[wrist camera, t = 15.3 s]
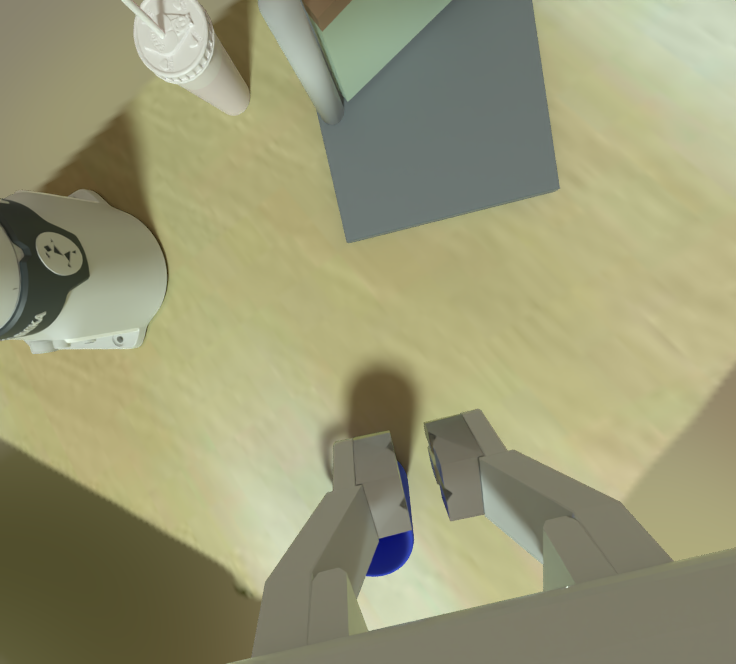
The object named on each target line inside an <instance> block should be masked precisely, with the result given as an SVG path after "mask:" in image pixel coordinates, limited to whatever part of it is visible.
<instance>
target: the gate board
mask: <svg viewBox="0 0 736 664" xmlns="http://www.w3.org/2000/svg"><path fill="white" fill-rule="evenodd" d="M258 6H259V10H260V12H261V14H262V16H263V18H264V19H265V21H266V23H267V25H268V26H269V28H270V30H271V31H272V33H273V35H274V37H275V38H276V40H277V42H278V44H279V45H280V47H281V49H282V50H283V52H284V54H285V56H286V57H287V59H288V61H289V63H290V64H291V66H292V68H293V70H294V71H295V73H296V75H297V76H298V78H299V80H300V82H301V83H302V85H303V87H304V89H305V90H306V92H307V94H308V95H309V97H310V99H311V101H312V102H313V104H314V106H315V108H316V110H317V114H318V119H319V123H320V128H321V132H322V136H323V141H324V145H325V149H326V154H327V158H328V163H329V167H330V171H331V176H332V180H333V184H334V189H335V193H336V198H337V202H338V206H339V211H340V215H341V219H342V224H343V228H344V233H345V237H346V241H347V243H352V242H356V241H360V240H364V239H368V238H372V237H376V236H380V235H384V234H388V233H392V232H396V231H400V230H404V229H408V228H412V227H416V226H420V225H424V224H427V223H431V222H435V221H439V220H443V219H447V218H451V217H455V216H459V215H463V214H467V213H471V212H475V211H479V210H483V209H487V208H491V207H495V206H499V205H503V204H507V203H511V202H515V201H519V200H523V199H527V198H531V197H535V196H539V195H543V194H547V193H551V192H555V191H556V190H558V189H560V187H559V180H558V173H557V166H556V160H555V153H554V146H553V139H552V132H551V126H550V119H549V112H548V105H547V99H546V92H545V85H544V78H543V72H542V65H541V58H540V51H539V44H538V38H537V31H536V24H535V17H534V11H533V4H532V0H452V1H451V2H450V3H449V4H448V5H447V6H446V7H445V8H444V9H443V10H442V11H440V12H439V13H438V14H437V15H436V16H435V17H434V18H433V19H432V20H431V21H430V22H429V23H428V24H427V25H426V26H425V27H424V28H423V29H422V30H421V31H420V32H419V33H418V34H417V35H416V36H415V37H414V38H413V39H412V40H411V41H410V42H409V43H408V44H407V45H406V46H405V47H404V48H403V49H402V50H401V51H400V52H399V53H398V54H397V55H395V56H394V57H393V58H392V59H391V60H390V61H389V62H388V63H387V64H386V65H385V66H384V67H383V68H382V69H381V70H380V71H379V72H378V73H377V74H376V75H375V76H374V77H373V78H372V79H371V80H370V81H369V82H368V83H367V84H366V85H365V86H364V87H363V88H362V89H361V90H360V91H359V92H358V93H357V94H356V95H355V96H354V97H353V98H352V99H350V100H349V101H348V102H347V100H346V99H345V98H344V97H343V95H342V94H341V93H340V91H339V90H338V88H337V86H336V83H335V81H334V78H333V76H332V73H331V71H330V68H329V66H328V63H327V61H326V58H325V56H324V53H323V51H322V48H321V46H320V43H319V41H318V39H317V36H316V34H315V31H314V29H313V26H312V24H311V21H310V19H309V16H308V14H307V12H306V10H305V8H304V5H303V3H302V0H258Z"/></svg>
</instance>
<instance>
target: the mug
mask: <svg viewBox="0 0 736 664" xmlns="http://www.w3.org/2000/svg"><path fill="white" fill-rule="evenodd" d="M397 464H398V468H399V473H400V477H401V482H402V486H403V490H404V495H405V499H406V504H407V508H408V513H409V518H410V522H411V527H412V530H410V531H406V532H402V533H399V534H395V535H391V536H387V537H383V538H379V539H378V540H379V542H378V545H377V547H376V550H375V553H374V555H373V558H372V561H371V563H370V566H369V568H368V571H367V574H366V576H371V577H376V576H383V575H387V574H390V573H392V572H394V571H396V570H398V569H399V568H400V567H402V566H403V565H404V564H405V562H406V561H407V560H408V558H409V556H410V554H411V552H412V549H413V544H414V534H413V525H412V515H411V506H410V496H409V486H408V479H407V475H406V472H405V470H404V468H403V467H402V465H401V464H400V463H399V462H398V461H397Z"/></svg>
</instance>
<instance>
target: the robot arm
mask: <svg viewBox="0 0 736 664" xmlns="http://www.w3.org/2000/svg"><path fill="white" fill-rule="evenodd" d="M166 286H167V270H166V264H165V259H164V256H163V253H162V250H161V248H160V246H159V244H158V242H157V240H156V239H155V237H154V236H153V234H152V233H151V232H150V230H149V229H148V228H147V227H146V226H145V225H144V224H143V223H142V222H141V221H139V220H138V219H137V218H135V217H134V216H132V215H130V214H128V213H126V212H123V211H121V210H118V209H116V208H114V207H112V206H110V205H109V204H108V203H107V202H106V201H105V200H104V199H103V198H102V197H101V196H99V195H98V194H97V193H96V192H94V191H92V190H86V189H79V190H77V191H76V192H74V193H72V194H71V195H69V196H67V197H66V196H60V195H54V194H48V193H42V192H35V191H29V190H17V191H15V193H14V194H12V195H9V196H7V197H6V198H4V199H1V198H0V341H1V340H24V341H25V342H26V343H27V344H28V345H29V346H30V349H31V352H32V354H39V353H47V352H53V351H57V350H58V349H132V348H138V347H140V346H141V344H142V343H143V340H144V337H145V333H146V329H147V325H148V323H149V322H150V320H151V319H152V318H153V317H154V315H155V314H156V313H157V311H158V310H159V308H160V306H161V304H162V302H163V299H164V296H165V292H166ZM122 337H123V340H122ZM424 430H425V435H426V438H427V441H428V444H429V446H428V452H429V456H430V461H431V465H432V469H433V472H434V475H435V478H436V481H437V484H439V485H440V489H441V494H442V499H443V502H444V505H445V508H446V510H447V513H448V516H449V519H450V521H454V520H459V519H464V518H469V517H474V516H479V515H484V514H485V517H487V518H488V519H489V520H490V521H491V522H493V523H494V524H495V525H496V526H497V527H499V528H500V529H501V530H502V531H503V532H505V533H506V534H507V535H508V536H509V537H511V538H512V539H513V540H514V541H515V542H516V543H518V544H519V545H520V546H521V547H522V548H524V549H525V550H526V551H527V552H528V553H530V554H531V555H532V556H533V557H534V558H536V559H537V560H538V561H539V562H540V563H542V564H543V592H539V593H534V594H530V595H526V596H521V597H517V598H512V599H508V600H504V601H499V602H495V603H491V604H486V605H482V606H477V607H473V608H469V609H464V610H460V611H456V612H451V613H447V614H442V615H438V616H434V617H429V618H425V619H420V620H416V621H412V622H407V623H403V624H399V625H394V626H390V627H385V628H381V629H377V630H372V631H368V629H367V626H366V623H365V621H364V618H363V615H362V613H361V610H360V607H359V605H358V602H357V597H358V595H359V592H360V589H361V587H362V584H363V581H364V579H365V576H366V574H367V571H368V568H369V566H370V563H371V561H372V558H373V555H374V553H375V550H376V547H377V545H378V542H379V540H378V539H379V538H383V537H387V536H391V535H395V534H399V533H402V532H406V531H410V530H412V527H411V522H410V518H409V513H408V508H407V504H406V499H405V495H404V490H403V486H402V482H401V477H400V473H399V468H398V464H397V460H396V455H395V451H394V447H393V443H392V439H391V434H390V430H388V431H383V432H378V433H373V434H368V435H363V436H359V437H354V438H350V439H345V440H341V441H336V442H335V443H334V445H333V491H331V492H327V493H326V495H325V496H324V498H323V499H322V500H321V502H320V503H319V505H318V506H317V508H316V509H315V511H314V512H313V514H312V515H311V516H310V518H309V519H308V521H307V522H306V524H305V525H304V527H303V528H302V530H301V531H300V532H299V534H298V535H297V537H296V538H295V540H294V541H293V543H292V544H291V546H290V547H289V548H288V550H287V551H286V553H285V554H284V556H283V557H282V559H281V560H280V562H279V563H278V564H277V566H276V567H275V569H274V570H273V572H272V573H271V575H270V576H269V578H268V579H267V580H266V582H265V586H264V592H263V597H262V603H261V608H260V613H259V619H258V625H257V630H256V635H255V641H254V646H253V652H252V657H251V658H250V659H245V660H241V661H236V662H232V663H227V664H736V548H732V549H727V550H723V551H718V552H714V553H709V554H706V555H701V556H696V557H692V558H688V559H683V560H679V561H673V560H672V559H671V558H670V557H669V555H668V554H667V553H666V552H665V551H664V550H663V549H662V548H661V546H659V544H658V543H657V542H656V541H655V540H654V539H653V538H652V536H651V535H650V534H649V533H648V532H647V531H646V530H645V529H644V528H643V527H642V525H641V524H640V523H639V522H638V521H637V520H636V519H635V518H634V516H633V515H632V514H631V513H630V512H629V511H628V510H627V509H626V508H625V506H624V505H623V504H622V503H621V502H620V501H617V500H615V499H613V498H611V497H609V496H607V495H605V494H603V493H601V492H599V491H597V490H595V489H593V488H591V487H589V486H587V485H585V484H583V483H581V482H579V481H577V480H575V479H573V478H571V477H569V476H567V475H565V474H562V473H560V472H558V471H556V470H554V469H552V468H550V467H548V466H546V465H544V464H542V463H540V462H538V461H536V460H534V459H532V458H530V457H528V456H526V455H524V454H522V453H520V452H518V451H516V450H510V451H508V450H507V449H506V447H505V446H504V444H503V443H502V441H501V440H500V438H499V437H498V435H497V434H496V432H495V430H494V429H493V427H492V426H491V424H490V423H489V421H488V420H487V418H486V417H485V415H484V414H483V412H482V411H481V410H480V409H475V410H471V411H467V412H463V413H460V414H457V415H453V416H448V417H444V418H440V419H436V420H431V421H427V422H424Z"/></svg>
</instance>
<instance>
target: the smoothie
mask: <svg viewBox="0 0 736 664" xmlns="http://www.w3.org/2000/svg"><path fill="white" fill-rule="evenodd" d="M121 1H122V2H123V3H124V4H125V5H126V6H127V7H128V8H130V9H131V10H132V11H133V12H134V13H135V14H136V17H135V21H134V42H135V46H136V49H137V52H138V54H139V56H140V58H141V59H142V61H143V62H144V64H145V65H146V66H147V67H148V68H149V69H150V70H151V71H153V72H154V73H155V74H156V75H157V76H158V77H159V78H161V79H163V80H164V81H166V82H169V83H173V84H178V85H179V86H181V87H183V88H185V89H186V90H188V91H190V92H191V93H193V94H195V95H196V96H198V97H200V98H201V99H203V100H205V101H206V102H208V103H210V104H211V105H213V106H215V107H216V108H218V109H220V110H221V111H223V112H225V113H226V114H228V115H239V114H241V113H242V112H244V111H245V109H246V108H247V106H248V104H249V101H250V92H249V88H248V86H247V84H246V83H245V81H244V79H243V78H242V76H241V75H240V73H239V71H238V70H237V68H236V66H235V65H234V63H233V62H232V60H231V58H230V57H229V55H228V53H227V52H226V50H225V48H224V47H223V45H222V44H221V42H220V40H219V39H218V37H217V35H216V33H215V32H214V29H213V25H212V21H211V19H210V17H209V15H208V13H207V12H206V10H205V9H204V8H203V7H202V5H201V4H200V3H199V2H198V1H197V0H144V1H143V2H142V3H141V5H140V7H139V6H138V5H137V4H136V3H135V2H134V1H133V0H121Z"/></svg>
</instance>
